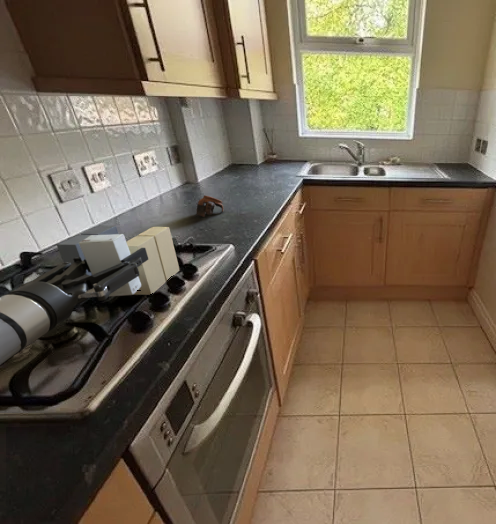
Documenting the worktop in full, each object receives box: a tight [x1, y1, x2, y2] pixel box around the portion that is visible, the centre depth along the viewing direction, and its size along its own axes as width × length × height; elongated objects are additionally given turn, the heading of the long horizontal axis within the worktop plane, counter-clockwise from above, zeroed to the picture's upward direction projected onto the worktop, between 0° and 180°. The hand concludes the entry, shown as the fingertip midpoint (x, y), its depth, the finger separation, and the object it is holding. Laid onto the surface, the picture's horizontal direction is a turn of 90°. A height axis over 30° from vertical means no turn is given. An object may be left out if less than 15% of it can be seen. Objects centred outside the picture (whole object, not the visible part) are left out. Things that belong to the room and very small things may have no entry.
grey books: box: [56, 224, 119, 282], centre depth 78 cm, size 4×12×12 cm, turn 0°
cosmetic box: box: [79, 233, 141, 297], centre depth 66 cm, size 6×4×12 cm
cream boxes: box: [126, 226, 180, 296], centre depth 78 cm, size 4×12×12 cm, turn 0°
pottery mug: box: [196, 195, 224, 218], centre depth 130 cm, size 12×10×8 cm
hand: (128, 253), depth 70 cm, fingers closed on cosmetic box, 6 cm apart
